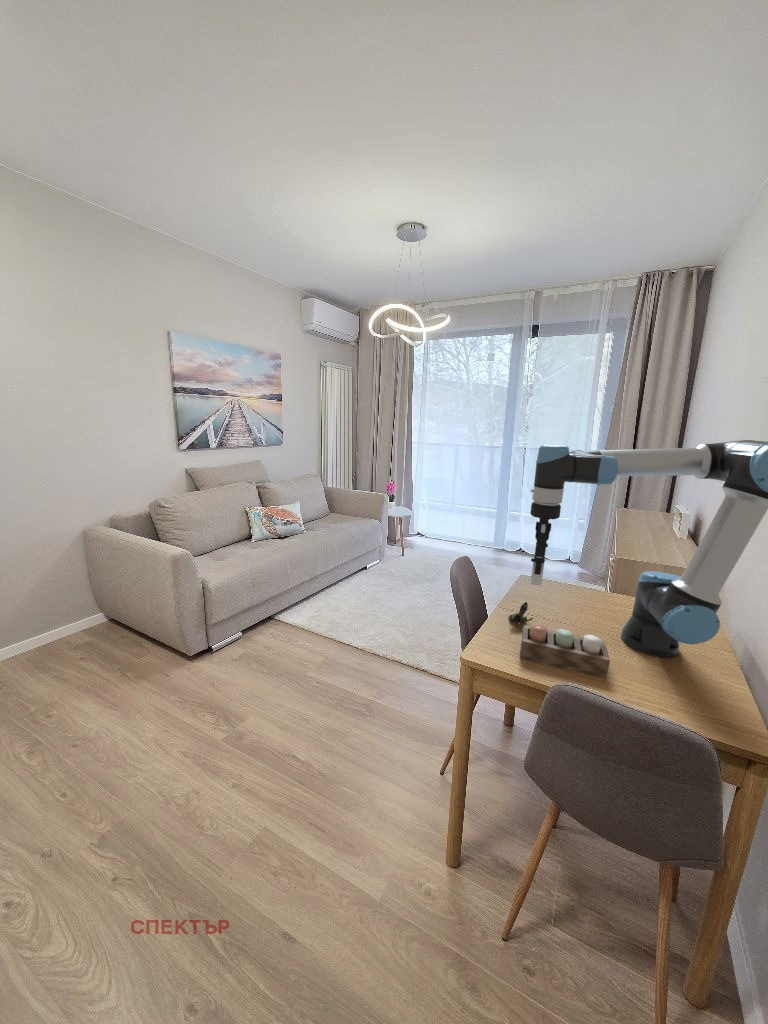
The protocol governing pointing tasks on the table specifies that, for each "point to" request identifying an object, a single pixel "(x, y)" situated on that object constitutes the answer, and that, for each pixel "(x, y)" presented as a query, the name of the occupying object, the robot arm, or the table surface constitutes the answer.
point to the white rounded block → (591, 644)
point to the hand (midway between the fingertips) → (536, 576)
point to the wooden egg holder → (565, 654)
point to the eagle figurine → (521, 615)
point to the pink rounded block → (538, 633)
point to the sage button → (564, 638)
